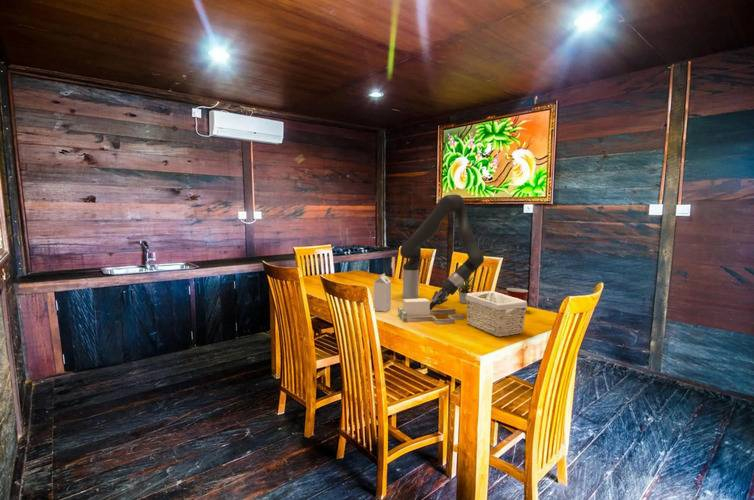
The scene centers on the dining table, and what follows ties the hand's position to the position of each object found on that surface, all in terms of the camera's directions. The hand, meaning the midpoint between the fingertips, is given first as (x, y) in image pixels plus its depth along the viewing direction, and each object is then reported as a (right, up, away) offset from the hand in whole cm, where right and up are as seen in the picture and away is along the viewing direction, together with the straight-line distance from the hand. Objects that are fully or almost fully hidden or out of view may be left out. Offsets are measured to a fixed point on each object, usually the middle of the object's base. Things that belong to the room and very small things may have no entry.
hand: (429, 308), depth 192 cm
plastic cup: (+47, -4, +12) cm, 49 cm away
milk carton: (-23, -3, +14) cm, 27 cm away
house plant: (+26, -1, +31) cm, 40 cm away
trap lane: (+1, -4, +1) cm, 4 cm away
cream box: (-7, -5, -1) cm, 8 cm away
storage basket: (+27, -7, -16) cm, 32 cm away
